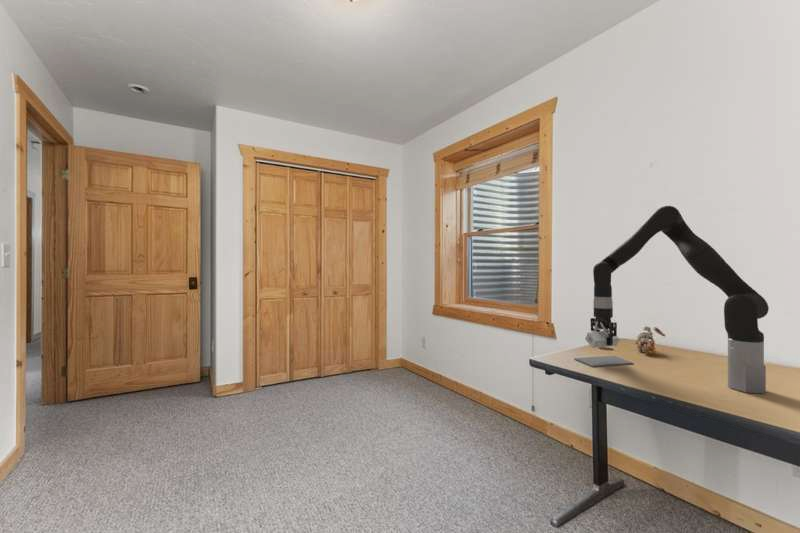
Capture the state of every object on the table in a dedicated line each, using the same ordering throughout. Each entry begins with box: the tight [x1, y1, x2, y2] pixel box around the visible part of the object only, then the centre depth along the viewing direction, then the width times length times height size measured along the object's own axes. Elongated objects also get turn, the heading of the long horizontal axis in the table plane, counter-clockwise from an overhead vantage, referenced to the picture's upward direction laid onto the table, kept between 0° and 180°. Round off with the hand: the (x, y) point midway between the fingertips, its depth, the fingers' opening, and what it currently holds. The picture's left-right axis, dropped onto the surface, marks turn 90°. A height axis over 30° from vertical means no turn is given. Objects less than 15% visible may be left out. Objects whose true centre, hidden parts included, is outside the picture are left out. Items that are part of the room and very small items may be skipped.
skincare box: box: [584, 330, 621, 349], centre depth 165 cm, size 6×4×12 cm
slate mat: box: [574, 355, 634, 368], centre depth 165 cm, size 20×12×1 cm, turn 99°
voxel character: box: [634, 326, 666, 356], centre depth 179 cm, size 11×10×15 cm
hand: (603, 343), depth 165 cm, fingers closed on skincare box, 7 cm apart
